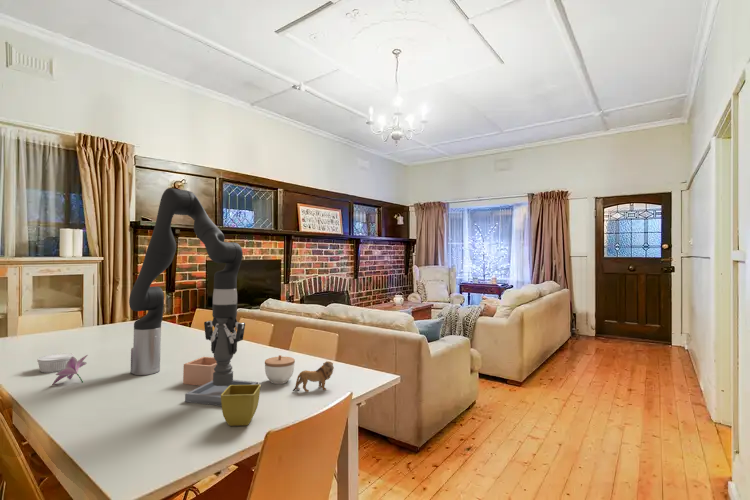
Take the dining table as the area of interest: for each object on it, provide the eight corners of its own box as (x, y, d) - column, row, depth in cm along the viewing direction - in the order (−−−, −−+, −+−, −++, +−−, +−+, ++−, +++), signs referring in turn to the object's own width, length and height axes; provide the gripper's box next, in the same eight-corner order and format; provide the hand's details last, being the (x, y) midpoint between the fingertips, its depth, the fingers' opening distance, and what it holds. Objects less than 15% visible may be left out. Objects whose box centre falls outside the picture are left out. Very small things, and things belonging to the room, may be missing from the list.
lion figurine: (330, 384, 138) (330, 359, 139) (336, 388, 134) (336, 362, 134) (290, 390, 131) (290, 364, 132) (295, 395, 127) (295, 367, 127)
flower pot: (229, 416, 109) (229, 384, 110) (260, 415, 110) (261, 383, 110) (219, 429, 101) (220, 395, 101) (253, 429, 101) (254, 394, 102)
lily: (92, 378, 145) (79, 356, 145) (104, 371, 139) (90, 348, 139) (56, 397, 135) (42, 373, 135) (66, 390, 129) (52, 365, 129)
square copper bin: (183, 383, 137) (183, 364, 137) (203, 374, 147) (203, 356, 147) (210, 386, 134) (210, 366, 134) (228, 377, 145) (229, 358, 145)
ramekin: (41, 375, 144) (41, 361, 145) (33, 370, 151) (34, 356, 151) (77, 369, 153) (77, 355, 153) (68, 364, 160) (69, 351, 160)
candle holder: (226, 386, 122) (227, 307, 123) (208, 385, 124) (210, 307, 124) (236, 380, 128) (238, 305, 129) (220, 379, 130) (221, 305, 130)
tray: (184, 401, 120) (185, 393, 120) (216, 385, 135) (216, 378, 135) (230, 406, 116) (230, 398, 116) (258, 389, 132) (258, 382, 132)
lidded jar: (300, 379, 144) (300, 354, 144) (281, 387, 134) (282, 360, 134) (277, 375, 148) (277, 350, 148) (257, 383, 138) (258, 357, 138)
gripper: (198, 302, 124) (197, 355, 124) (238, 304, 121) (237, 358, 121) (213, 300, 132) (211, 349, 131) (250, 302, 129) (249, 352, 128)
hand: (223, 353), depth 126 cm, fingers closed on candle holder, 6 cm apart
